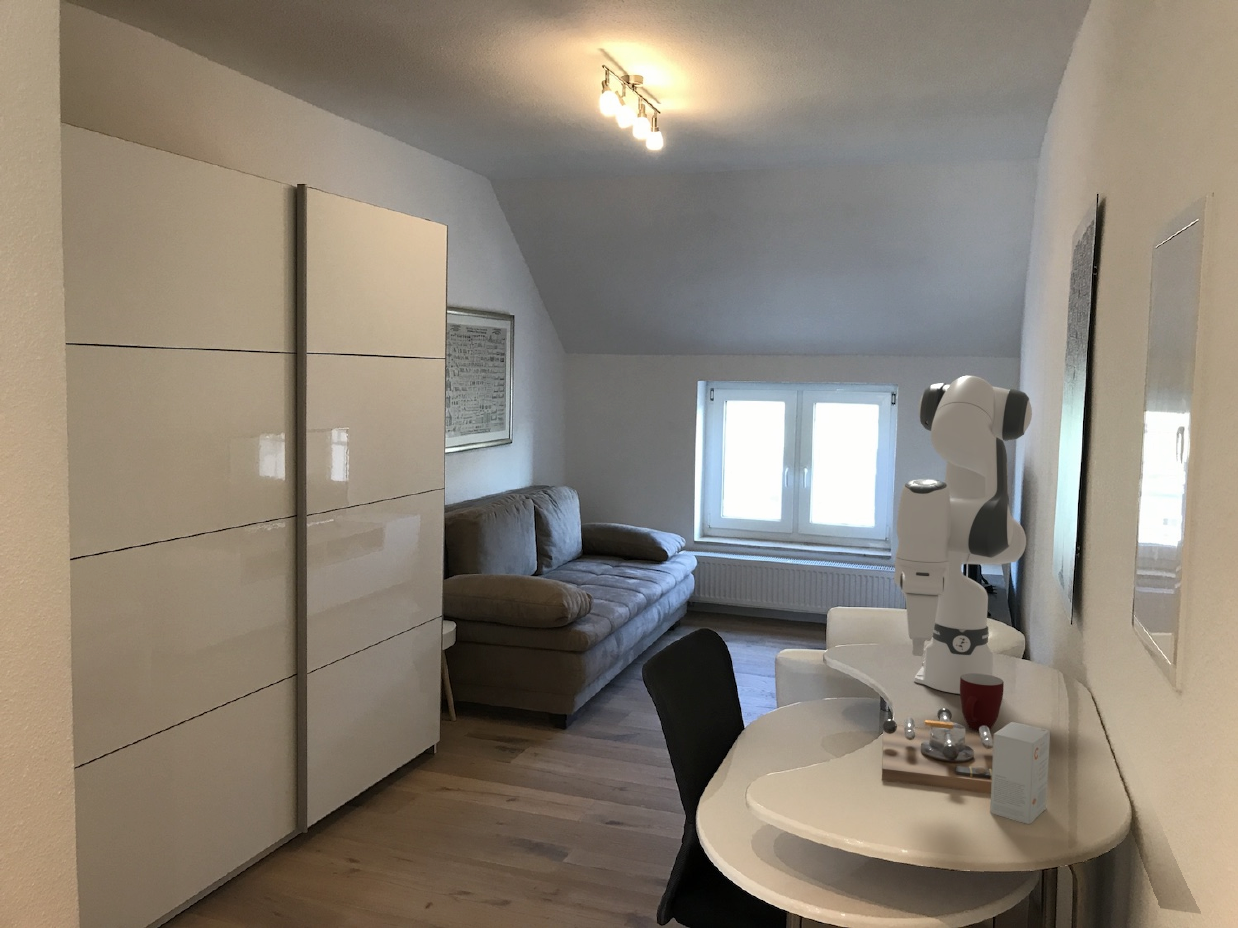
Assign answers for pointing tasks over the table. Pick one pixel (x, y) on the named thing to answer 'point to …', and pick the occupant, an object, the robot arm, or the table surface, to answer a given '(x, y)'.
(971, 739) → the cutting board
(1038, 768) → the small box
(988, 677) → the mug
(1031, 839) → the table surface
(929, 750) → the capstan
